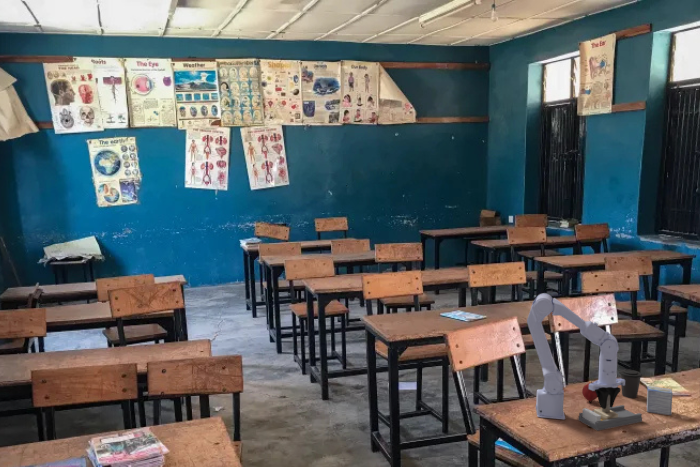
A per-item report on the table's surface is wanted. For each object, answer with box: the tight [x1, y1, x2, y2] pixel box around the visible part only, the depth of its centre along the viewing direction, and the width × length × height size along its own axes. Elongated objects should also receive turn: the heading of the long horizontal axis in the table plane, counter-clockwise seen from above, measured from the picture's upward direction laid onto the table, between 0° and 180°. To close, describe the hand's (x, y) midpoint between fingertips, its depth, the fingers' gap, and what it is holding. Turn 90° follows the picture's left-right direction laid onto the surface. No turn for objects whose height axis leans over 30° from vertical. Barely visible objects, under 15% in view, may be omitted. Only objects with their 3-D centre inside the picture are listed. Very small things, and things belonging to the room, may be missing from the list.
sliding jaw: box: [593, 395, 618, 420], centre depth 200 cm, size 5×6×8 cm
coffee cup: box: [619, 368, 643, 399], centre depth 224 cm, size 8×8×10 cm
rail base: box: [578, 404, 643, 431], centre depth 201 cm, size 20×9×4 cm, turn 110°
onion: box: [581, 380, 598, 402], centre depth 218 cm, size 6×6×8 cm
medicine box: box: [646, 385, 674, 416], centre depth 208 cm, size 8×4×9 cm, turn 65°
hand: (606, 407), depth 200 cm, fingers closed on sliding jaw, 2 cm apart
